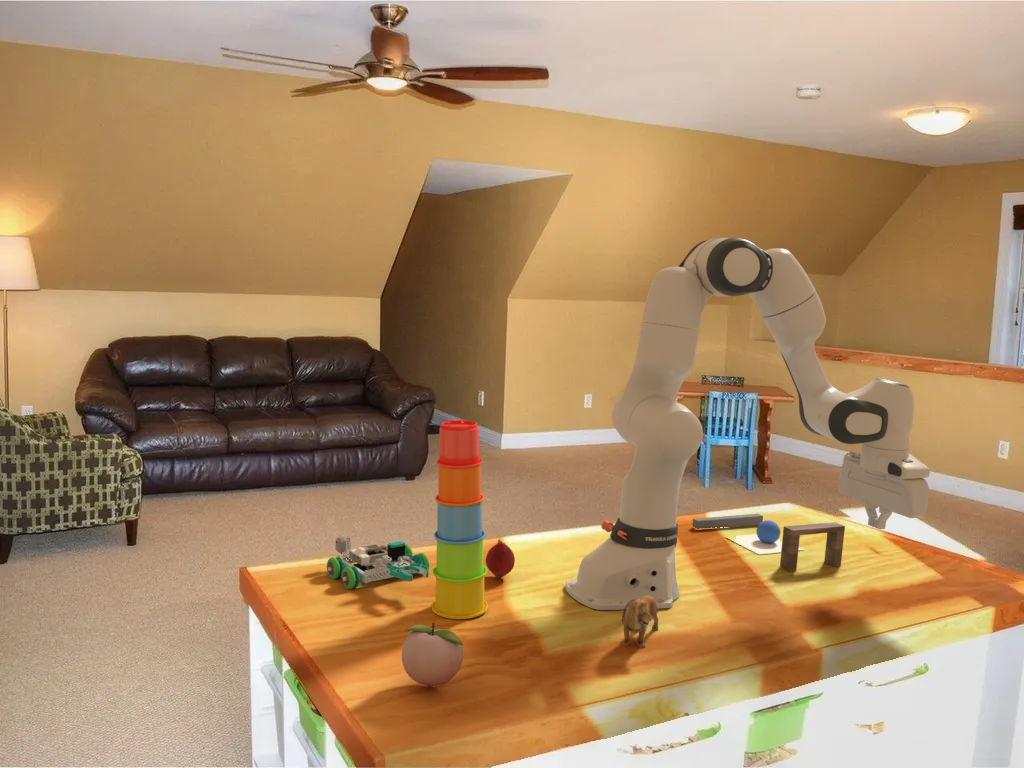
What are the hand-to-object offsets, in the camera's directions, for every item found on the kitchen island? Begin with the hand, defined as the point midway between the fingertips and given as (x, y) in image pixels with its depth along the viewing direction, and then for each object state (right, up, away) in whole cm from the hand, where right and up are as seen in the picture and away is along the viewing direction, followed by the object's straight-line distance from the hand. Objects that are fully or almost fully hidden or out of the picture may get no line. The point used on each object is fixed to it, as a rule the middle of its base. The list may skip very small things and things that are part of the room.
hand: (876, 527), depth 175 cm
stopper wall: (-19, -7, +45) cm, 49 cm away
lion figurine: (-51, -15, -26) cm, 59 cm away
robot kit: (-97, -10, -5) cm, 98 cm away
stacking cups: (-83, -12, -17) cm, 86 cm away
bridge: (-7, -12, +17) cm, 22 cm away
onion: (-76, -11, 0) cm, 77 cm away
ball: (-12, -7, +33) cm, 35 cm away
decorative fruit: (-86, -16, -47) cm, 99 cm away
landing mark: (-13, -9, +32) cm, 36 cm away
